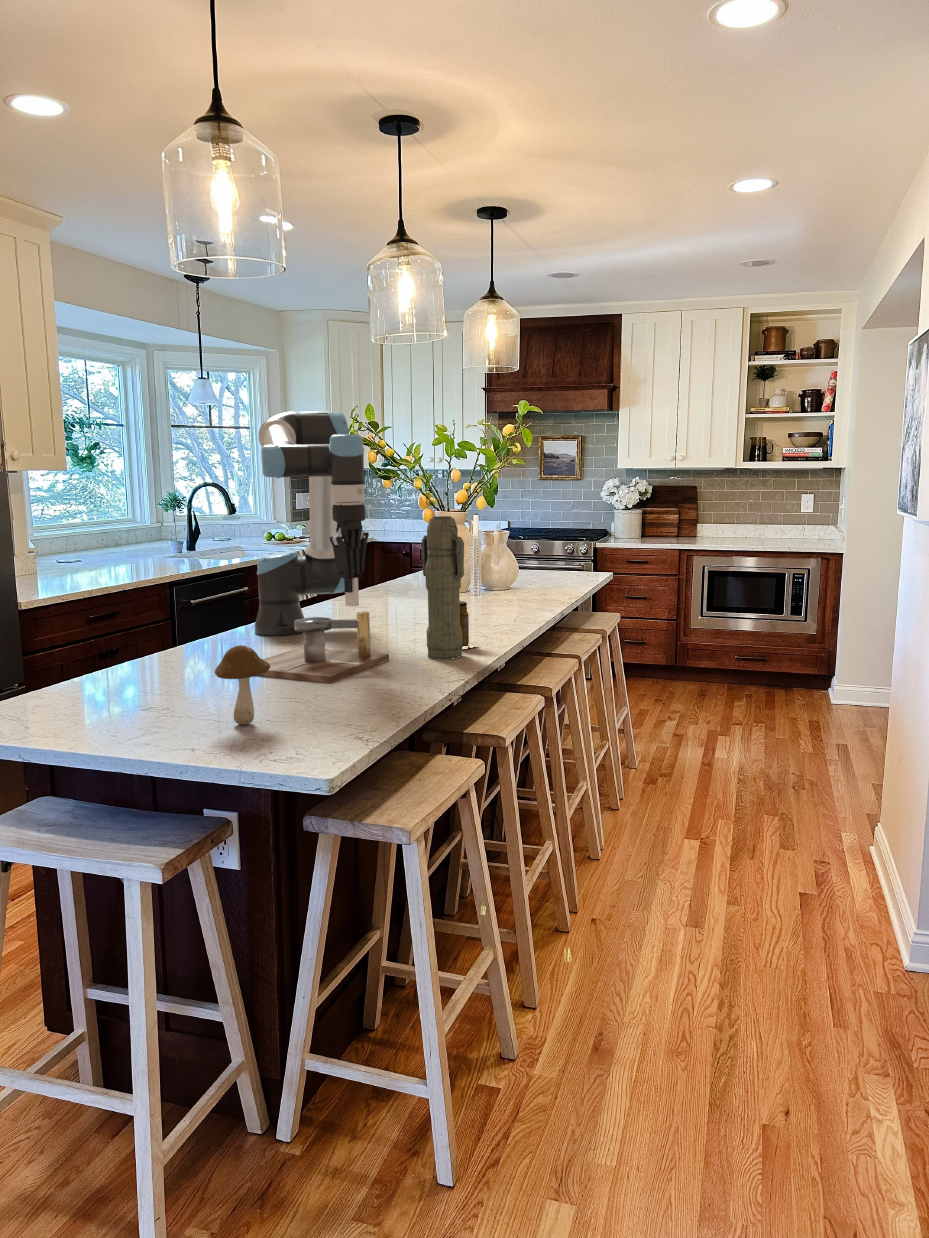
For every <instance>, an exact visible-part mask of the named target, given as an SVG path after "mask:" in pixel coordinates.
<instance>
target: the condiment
mask: <svg viewBox="0 0 929 1238" xmlns="http://www.w3.org/2000/svg"><path fill="white" fill-rule="evenodd" d="M469 616H470V615H469V612H468V603H467V601H462V600H461V601H460V626H461V629H462V644H463V646H468V645H470V637H469V634H470V633H469V631H470V630H469V629H470V627H469V626H470V625H469V624H470V623H469V621H470V620H469ZM463 646H462V647H463Z"/></svg>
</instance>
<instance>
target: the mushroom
mask: <svg viewBox="0 0 929 1238" xmlns="http://www.w3.org/2000/svg"><path fill="white" fill-rule="evenodd" d="M263 659H264V658H261V657H260V656H259V654H258V653H257V652H256V651H255V650H254V649H253V648H251V647H250V646H248V645H236V646H233V647H231V648H229V649H228V650H227V651H226V652H225V653H224V655H223V657H222V659H221V661H220V662H219V664H218V665H217V667H215V670H214V674H215V676H216V677H217V678H220V679H225V680H237V682H238V693H237V697H236V700H235V701H236V702H235V706H234V709H233V720H234V722H235V723H236V724H238V725H243V726H246V725H247V726H248V725H249V724H251V723H252V722H253V721H254V719H255V707H254V701H253V700H254V699H253V695H252V690H251V684H250V680H251V679H250V678H253V677H254V678H255V677H257V676H258V675H261V674H264V673H266V672H267V671H268V670H269V668H270V664H269V663H268V662H266V661H264V660H263Z"/></svg>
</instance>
